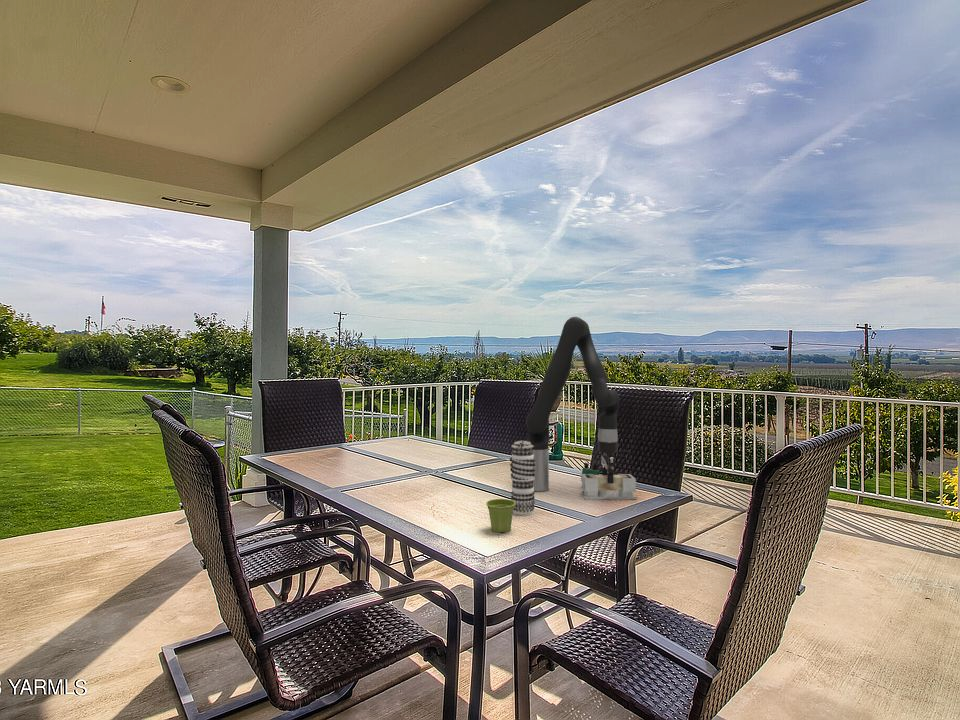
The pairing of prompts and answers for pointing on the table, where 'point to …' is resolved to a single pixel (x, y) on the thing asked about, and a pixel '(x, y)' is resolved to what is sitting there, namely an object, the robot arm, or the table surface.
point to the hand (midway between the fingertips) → (608, 480)
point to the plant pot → (500, 514)
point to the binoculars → (590, 470)
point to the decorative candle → (522, 477)
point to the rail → (605, 485)
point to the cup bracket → (592, 491)
